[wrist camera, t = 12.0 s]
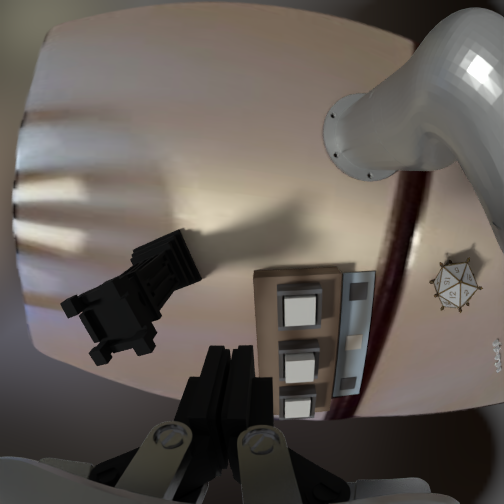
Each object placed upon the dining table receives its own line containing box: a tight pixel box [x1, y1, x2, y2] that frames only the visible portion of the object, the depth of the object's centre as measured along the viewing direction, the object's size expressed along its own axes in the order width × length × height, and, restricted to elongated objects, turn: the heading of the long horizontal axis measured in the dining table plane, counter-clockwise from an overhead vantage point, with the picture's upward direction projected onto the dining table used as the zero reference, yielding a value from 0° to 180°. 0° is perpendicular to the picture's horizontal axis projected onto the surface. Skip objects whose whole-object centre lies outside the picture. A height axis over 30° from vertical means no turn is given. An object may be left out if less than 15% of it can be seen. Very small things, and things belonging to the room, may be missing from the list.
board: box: [253, 267, 375, 420], centre depth 43 cm, size 18×26×5 cm
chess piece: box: [61, 229, 202, 366], centre depth 33 cm, size 8×8×20 cm
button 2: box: [284, 294, 316, 326], centre depth 39 cm, size 4×4×2 cm
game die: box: [430, 257, 483, 313], centre depth 38 cm, size 9×8×10 cm
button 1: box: [285, 397, 311, 418], centre depth 43 cm, size 4×4×2 cm
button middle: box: [285, 352, 315, 383], centre depth 40 cm, size 4×4×2 cm
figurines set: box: [492, 339, 502, 373], centre depth 45 cm, size 12×3×3 cm, turn 36°
